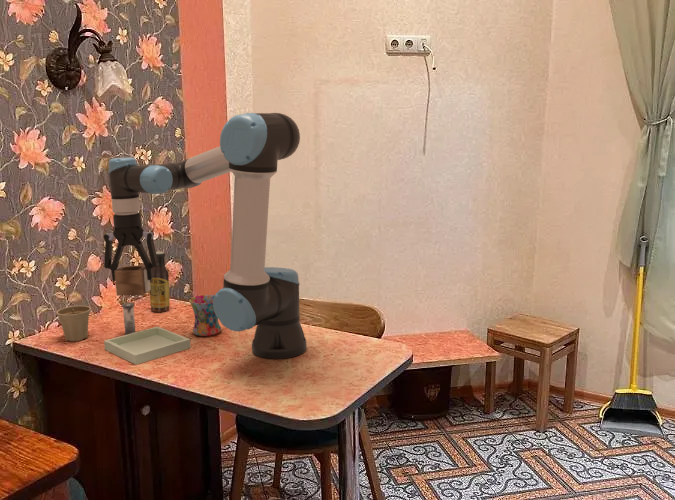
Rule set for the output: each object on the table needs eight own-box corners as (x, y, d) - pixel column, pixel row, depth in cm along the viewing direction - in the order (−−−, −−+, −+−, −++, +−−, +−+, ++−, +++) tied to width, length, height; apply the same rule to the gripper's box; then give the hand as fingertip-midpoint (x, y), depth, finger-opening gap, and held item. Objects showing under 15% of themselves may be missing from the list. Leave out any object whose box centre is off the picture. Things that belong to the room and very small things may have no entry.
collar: (150, 288, 196) (148, 265, 194) (143, 295, 188) (141, 270, 187) (125, 289, 196) (122, 265, 194) (116, 295, 188) (114, 271, 187)
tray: (190, 348, 186) (190, 339, 186) (135, 364, 175) (135, 355, 174) (158, 334, 198) (157, 326, 198) (104, 349, 186) (104, 340, 186)
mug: (206, 340, 193) (204, 305, 190) (184, 334, 198) (182, 300, 196) (235, 329, 202) (234, 295, 200) (213, 324, 207) (212, 291, 205)
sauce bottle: (147, 312, 220) (143, 254, 216) (155, 307, 226) (151, 250, 222) (166, 313, 219) (162, 254, 215) (173, 307, 225) (170, 250, 221)
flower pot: (53, 338, 196) (50, 310, 194) (84, 330, 203) (81, 303, 201) (68, 345, 190) (65, 316, 188) (99, 337, 196) (96, 309, 194)
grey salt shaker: (138, 333, 200) (136, 304, 198) (127, 336, 197) (125, 306, 195) (132, 330, 202) (130, 301, 200) (121, 333, 200) (119, 304, 198)
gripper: (166, 210, 191) (172, 286, 196) (95, 212, 191) (103, 288, 196) (159, 213, 184) (165, 293, 188) (85, 215, 184) (94, 295, 188)
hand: (133, 291), depth 192 cm, fingers closed on collar, 7 cm apart
